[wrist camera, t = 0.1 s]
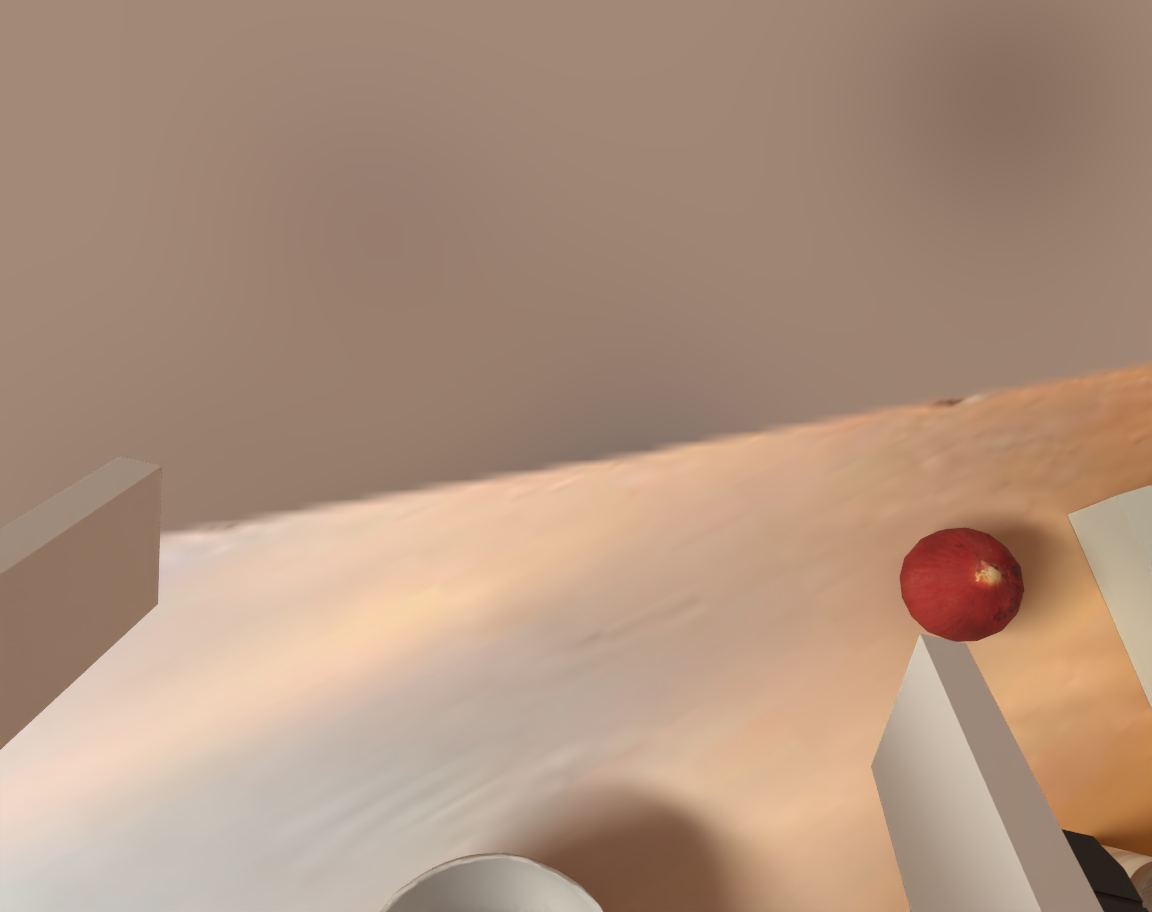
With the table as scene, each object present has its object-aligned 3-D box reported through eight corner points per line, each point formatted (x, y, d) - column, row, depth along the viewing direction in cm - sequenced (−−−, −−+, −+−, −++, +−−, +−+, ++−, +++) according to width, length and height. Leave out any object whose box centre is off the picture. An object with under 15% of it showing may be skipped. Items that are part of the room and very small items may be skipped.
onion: (977, 539, 53) (1047, 510, 46) (993, 643, 52) (1069, 631, 44) (874, 543, 53) (928, 514, 45) (887, 648, 52) (945, 636, 44)
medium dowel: (1139, 911, 48) (1249, 949, 41) (1065, 936, 48) (1162, 979, 40) (1105, 829, 49) (1206, 850, 42) (1033, 853, 49) (1121, 879, 41)
